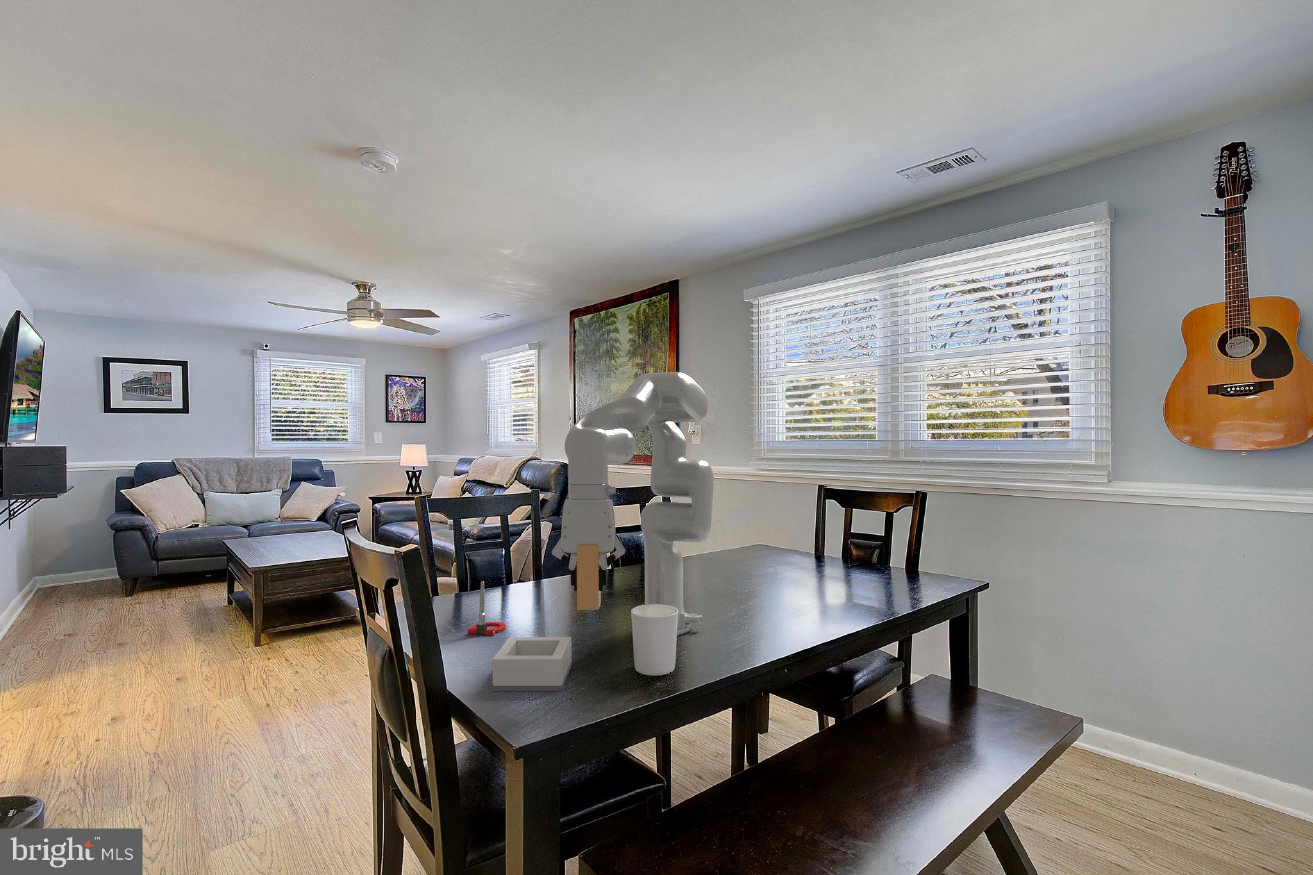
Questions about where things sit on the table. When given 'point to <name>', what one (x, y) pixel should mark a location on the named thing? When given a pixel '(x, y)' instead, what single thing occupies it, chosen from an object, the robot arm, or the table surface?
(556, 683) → the well
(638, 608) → the candle holder
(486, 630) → the tow hook
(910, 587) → the table surface
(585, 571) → the wooden square beam
